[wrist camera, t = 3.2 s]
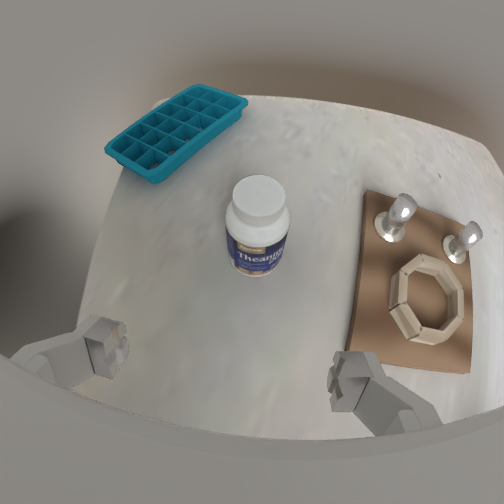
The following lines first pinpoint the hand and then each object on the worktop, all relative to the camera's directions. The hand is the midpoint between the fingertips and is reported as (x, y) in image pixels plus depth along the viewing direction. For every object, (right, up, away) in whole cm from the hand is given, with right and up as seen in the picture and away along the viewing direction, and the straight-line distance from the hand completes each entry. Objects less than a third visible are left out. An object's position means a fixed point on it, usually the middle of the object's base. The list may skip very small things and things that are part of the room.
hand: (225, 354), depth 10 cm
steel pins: (+22, +5, +19) cm, 29 cm away
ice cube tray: (-10, +21, +28) cm, 37 cm away
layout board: (+20, 0, +18) cm, 27 cm away
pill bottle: (+1, +3, +19) cm, 20 cm away
